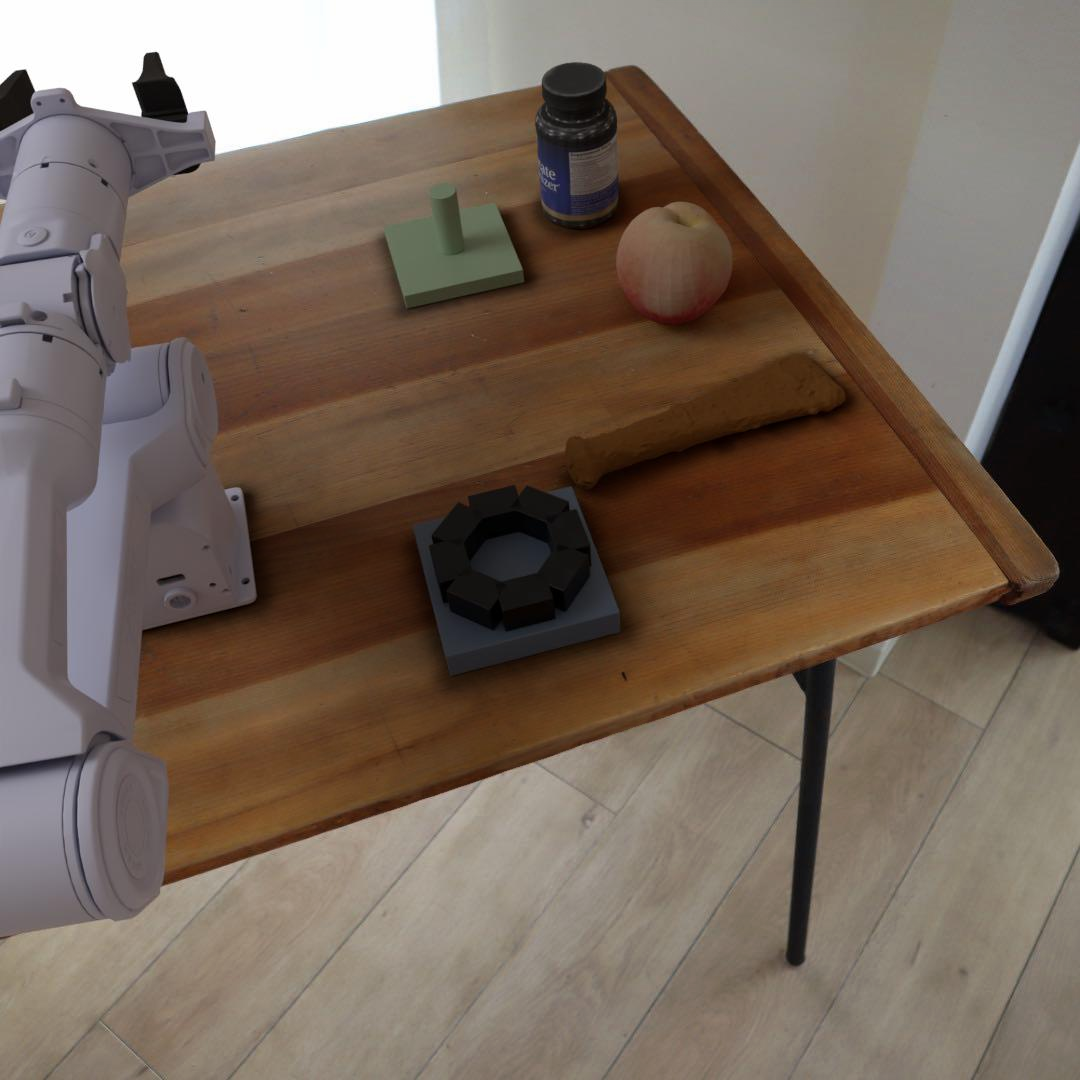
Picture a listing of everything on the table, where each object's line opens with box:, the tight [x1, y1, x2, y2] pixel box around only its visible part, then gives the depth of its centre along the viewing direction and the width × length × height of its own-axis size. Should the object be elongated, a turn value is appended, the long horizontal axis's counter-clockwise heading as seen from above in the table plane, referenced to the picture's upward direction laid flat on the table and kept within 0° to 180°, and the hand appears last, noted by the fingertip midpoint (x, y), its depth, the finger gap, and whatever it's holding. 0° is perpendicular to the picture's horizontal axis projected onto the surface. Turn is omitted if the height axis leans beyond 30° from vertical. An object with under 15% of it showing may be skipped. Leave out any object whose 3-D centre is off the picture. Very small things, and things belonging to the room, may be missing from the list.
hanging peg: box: [383, 182, 525, 309], centre depth 88 cm, size 9×9×6 cm
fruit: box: [615, 200, 734, 326], centre depth 82 cm, size 8×8×8 cm
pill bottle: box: [534, 61, 620, 229], centre depth 89 cm, size 6×6×11 cm
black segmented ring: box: [429, 484, 591, 632], centre depth 67 cm, size 9×9×2 cm
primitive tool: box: [564, 353, 846, 490], centre depth 75 cm, size 19×6×4 cm, turn 119°
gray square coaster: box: [412, 485, 621, 677], centre depth 69 cm, size 10×10×2 cm
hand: (92, 76), depth 70 cm, fingers open, 7 cm apart
